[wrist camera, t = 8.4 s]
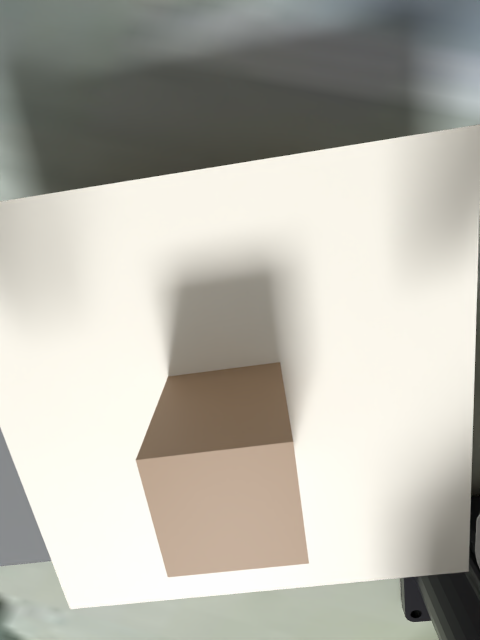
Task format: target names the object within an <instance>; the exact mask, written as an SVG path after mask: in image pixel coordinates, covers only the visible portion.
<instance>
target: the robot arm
mask: <svg viewBox="0 0 480 640" xmlns="http://www.w3.org/2000/svg"><path fill="white" fill-rule="evenodd" d="M401 591H402V608H403V611H404V614H405V617H406V618H407V619H408V620H409V621H412V622H420V621H432V623H433V626H434V628H435V630H436V633H437V635H438V638H439V640H480V496H473V497H471V508H470V541H469V572H458V573H448V574H437V575H426V576H416V577H405V578H401Z"/></svg>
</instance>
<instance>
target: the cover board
mask: <svg viewBox="0 0 480 640" xmlns="http://www.w3.org/2000/svg"><path fill="white" fill-rule="evenodd" d="M479 211H480V125H473V126H467V127H461V128H455V129H448V130H442V131H436V132H430V133H424V134H417V135H411V136H405V137H399V138H392V139H386V140H380V141H374V142H367V143H361V144H355V145H349V146H343V147H336V148H330V149H324V150H318V151H311V152H305V153H299V154H293V155H286V156H280V157H274V158H268V159H262V160H255V161H249V162H243V163H237V164H230V165H224V166H218V167H212V168H205V169H199V170H193V171H187V172H181V173H174V174H168V175H162V176H156V177H149V178H143V179H137V180H131V181H124V182H118V183H112V184H106V185H100V186H93V187H87V188H81V189H75V190H68V191H62V192H56V193H50V194H43V195H37V196H31V197H25V198H19V199H12V200H6V201H0V428H1V431H2V433H3V436H4V438H5V441H6V444H7V446H8V449H9V451H10V454H11V457H12V459H13V462H14V464H15V467H16V470H17V472H18V475H19V477H20V480H21V483H22V485H23V488H24V490H25V493H26V496H27V498H28V501H29V503H30V506H31V509H32V511H33V514H34V516H35V519H36V522H37V524H38V527H39V529H40V532H41V535H42V537H43V540H44V542H45V545H46V548H47V550H48V553H49V555H50V558H51V561H52V563H53V566H54V568H55V571H56V573H57V576H58V579H59V581H60V584H61V586H62V589H63V592H64V594H65V597H66V599H67V602H68V605H69V607H70V609H77V608H87V607H98V606H109V605H119V604H130V603H140V602H151V601H162V600H172V599H183V598H193V597H204V596H215V595H225V594H236V593H246V592H257V591H268V590H278V589H289V588H299V587H310V586H321V585H331V584H342V583H352V582H363V581H373V580H384V579H395V578H405V577H416V576H426V575H437V574H448V573H458V572H469V541H470V508H471V475H472V442H473V409H474V376H475V343H476V310H477V277H478V244H479Z"/></svg>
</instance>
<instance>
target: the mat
mask: <svg viewBox="0 0 480 640" xmlns="http://www.w3.org/2000/svg"><path fill="white" fill-rule="evenodd" d="M46 561H51V558H50V555H49V553H48V550H47V548H46V545H45V542H44V540H43V537H42V535H41V532H40V529H39V527H38V524H37V522H36V519H35V516H34V514H33V511H32V509H31V506H30V503H29V501H28V498H27V496H26V493H25V490H24V488H23V485H22V483H21V480H20V477H19V475H18V472H17V470H16V467H15V464H14V462H13V459H12V457H11V454H10V451H9V449H8V446H7V444H6V441H5V438H4V436H3V433H2V431H1V428H0V566H7V565H17V564H27V563H36V562H46Z"/></svg>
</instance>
